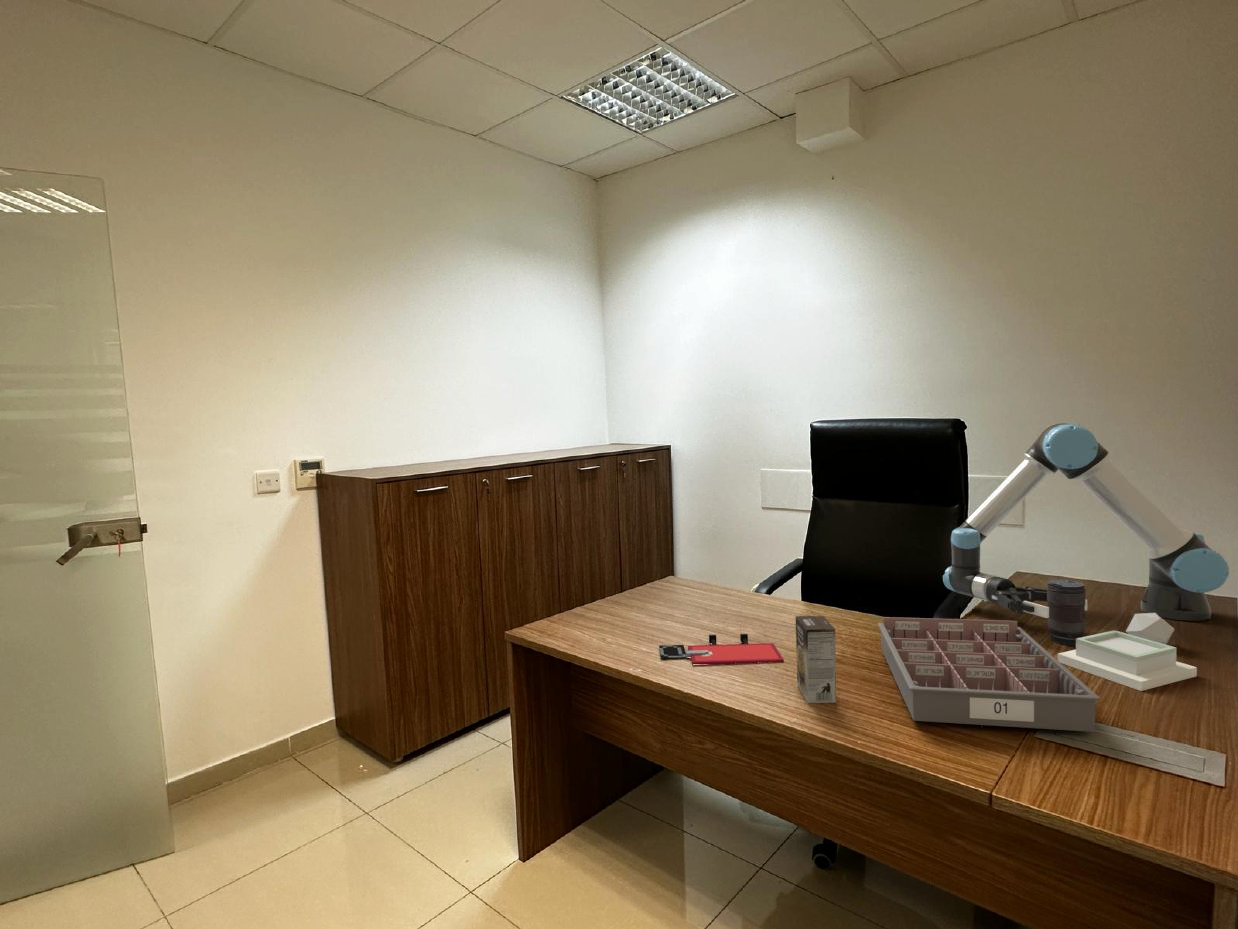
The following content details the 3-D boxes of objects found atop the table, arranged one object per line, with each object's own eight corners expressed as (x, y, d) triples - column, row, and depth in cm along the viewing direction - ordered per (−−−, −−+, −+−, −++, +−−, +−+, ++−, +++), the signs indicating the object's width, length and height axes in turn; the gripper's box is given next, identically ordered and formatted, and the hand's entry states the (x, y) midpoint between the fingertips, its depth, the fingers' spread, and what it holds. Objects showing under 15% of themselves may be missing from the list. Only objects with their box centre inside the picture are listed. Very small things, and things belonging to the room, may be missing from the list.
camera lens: (1062, 633, 172) (1062, 577, 171) (1092, 643, 164) (1093, 584, 163) (1039, 637, 169) (1039, 581, 168) (1069, 647, 162) (1069, 588, 160)
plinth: (1110, 649, 159) (1110, 625, 159) (1196, 676, 142) (1197, 649, 142) (1057, 661, 153) (1057, 637, 153) (1140, 691, 136) (1141, 663, 136)
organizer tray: (910, 729, 125) (909, 679, 124) (877, 653, 164) (877, 615, 163) (1101, 742, 117) (1102, 688, 117) (1020, 659, 156) (1020, 618, 155)
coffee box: (796, 686, 146) (794, 615, 145) (825, 685, 146) (823, 614, 145) (806, 704, 137) (804, 629, 136) (837, 703, 137) (836, 628, 136)
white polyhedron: (1175, 656, 155) (1186, 620, 157) (1139, 638, 156) (1150, 602, 159) (1148, 657, 163) (1159, 622, 165) (1114, 639, 164) (1125, 605, 166)
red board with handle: (658, 646, 175) (662, 668, 160) (658, 636, 175) (662, 657, 160) (769, 643, 175) (784, 665, 160) (769, 633, 175) (783, 654, 160)
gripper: (1026, 596, 190) (1101, 616, 170) (960, 608, 181) (1031, 630, 161) (1026, 571, 189) (1101, 588, 169) (960, 581, 181) (1031, 601, 161)
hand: (1067, 609), depth 165 cm, fingers open, 13 cm apart
